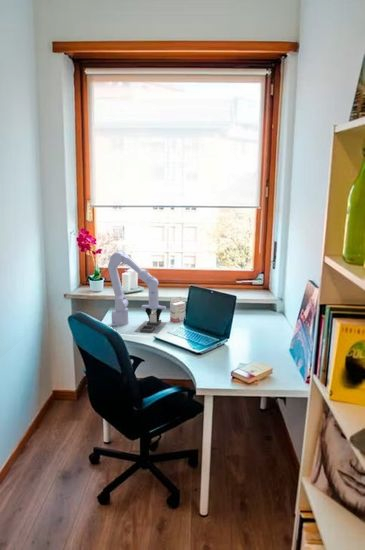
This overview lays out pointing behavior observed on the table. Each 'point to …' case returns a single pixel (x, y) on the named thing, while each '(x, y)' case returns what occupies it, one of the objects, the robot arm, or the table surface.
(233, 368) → the table surface
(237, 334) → the table surface
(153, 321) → the plug
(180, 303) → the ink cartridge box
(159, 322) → the panel
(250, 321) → the table surface
